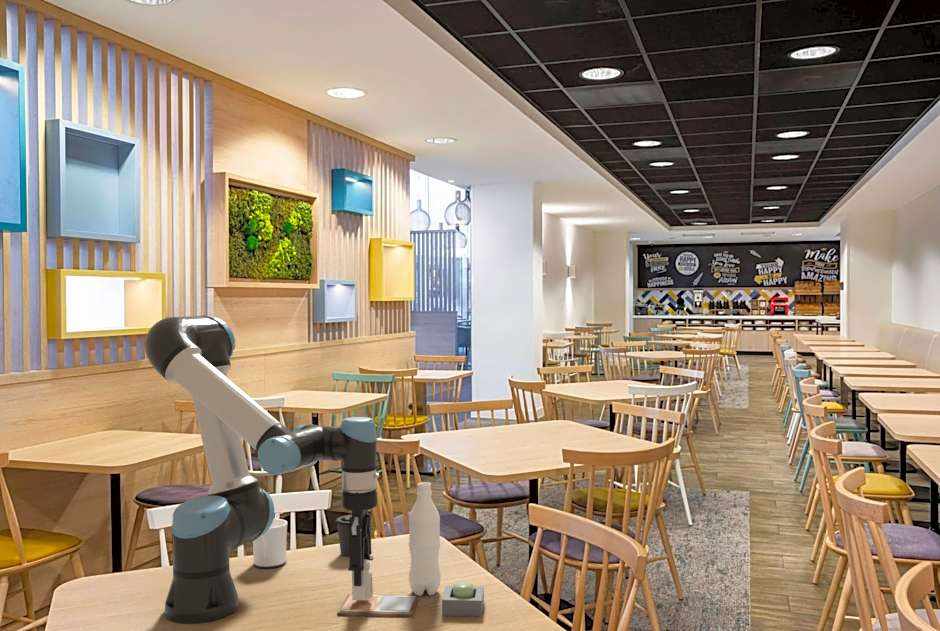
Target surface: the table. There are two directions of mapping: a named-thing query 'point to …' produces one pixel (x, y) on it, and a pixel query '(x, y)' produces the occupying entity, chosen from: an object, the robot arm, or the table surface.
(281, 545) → the mug
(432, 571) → the water bottle
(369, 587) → the pill bottle
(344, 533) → the coffee cup
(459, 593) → the button
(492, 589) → the table surface
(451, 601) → the button housing
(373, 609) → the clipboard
